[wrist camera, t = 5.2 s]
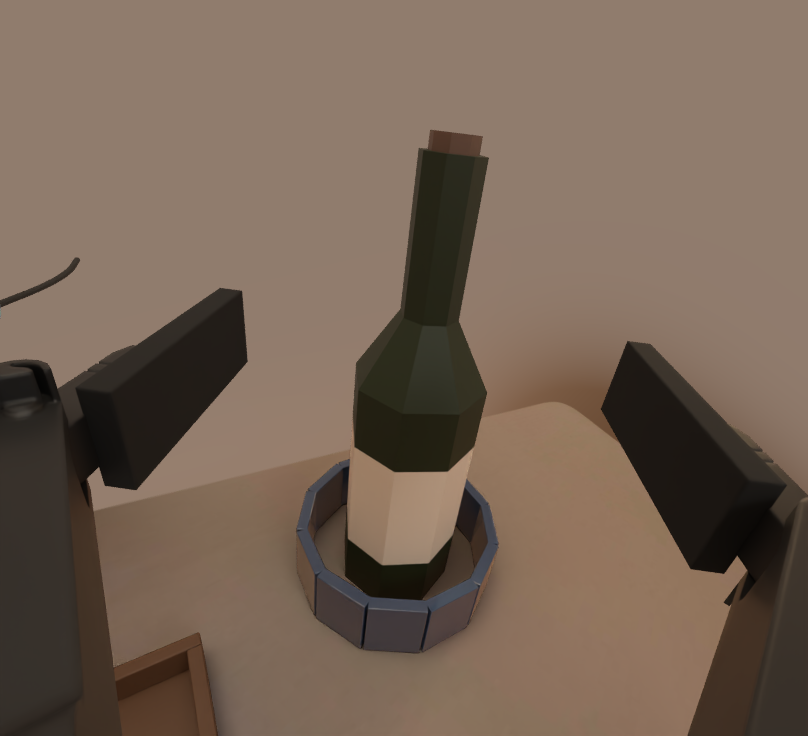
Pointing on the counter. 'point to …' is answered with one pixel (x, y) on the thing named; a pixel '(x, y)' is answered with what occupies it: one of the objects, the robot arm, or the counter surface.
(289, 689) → the counter surface
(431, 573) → the wine bottle
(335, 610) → the segmented polygonal ring
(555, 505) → the counter surface
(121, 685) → the tray
